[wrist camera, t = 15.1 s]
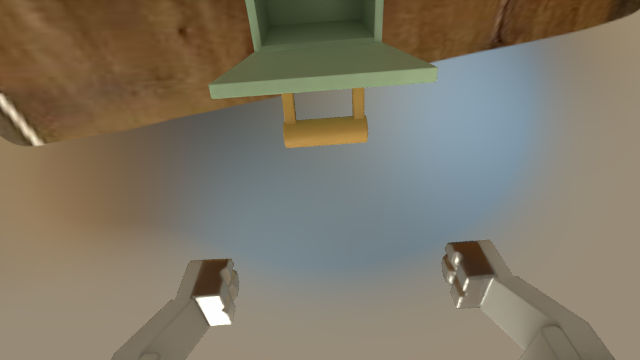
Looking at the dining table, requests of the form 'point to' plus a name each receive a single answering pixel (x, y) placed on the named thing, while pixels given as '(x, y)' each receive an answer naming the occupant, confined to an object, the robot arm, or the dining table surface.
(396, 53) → the lid
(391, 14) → the dining table surface
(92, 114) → the dining table surface
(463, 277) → the robot arm
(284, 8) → the box
